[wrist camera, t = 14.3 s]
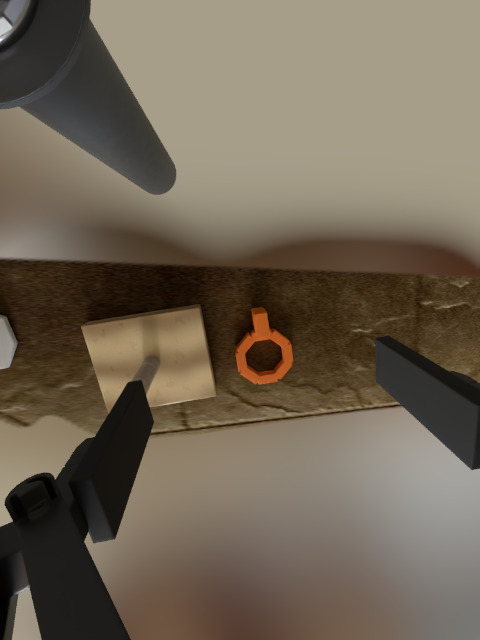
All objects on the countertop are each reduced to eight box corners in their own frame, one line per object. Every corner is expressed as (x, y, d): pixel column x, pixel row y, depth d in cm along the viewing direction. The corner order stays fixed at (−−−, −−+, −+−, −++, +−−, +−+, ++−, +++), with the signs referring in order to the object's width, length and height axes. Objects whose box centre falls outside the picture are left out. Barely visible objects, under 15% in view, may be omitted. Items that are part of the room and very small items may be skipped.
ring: (228, 312, 37) (229, 318, 34) (285, 303, 37) (291, 308, 34) (240, 383, 39) (242, 394, 37) (292, 374, 40) (298, 384, 37)
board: (88, 321, 36) (9, 371, 22) (200, 303, 36) (189, 341, 23) (113, 405, 39) (58, 493, 26) (216, 388, 39) (215, 465, 26)
